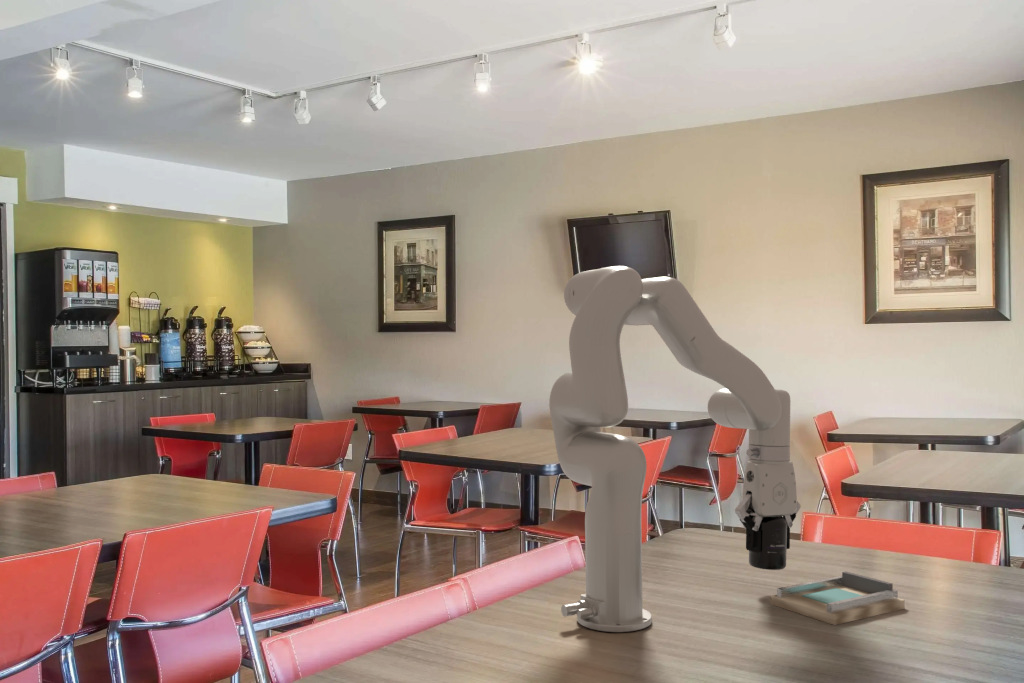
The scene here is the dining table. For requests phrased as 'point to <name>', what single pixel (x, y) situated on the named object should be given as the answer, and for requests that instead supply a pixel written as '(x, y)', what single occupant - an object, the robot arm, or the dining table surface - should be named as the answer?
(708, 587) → the dining table surface
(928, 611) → the dining table surface
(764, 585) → the dining table surface
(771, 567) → the supplement bottle
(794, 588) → the board
